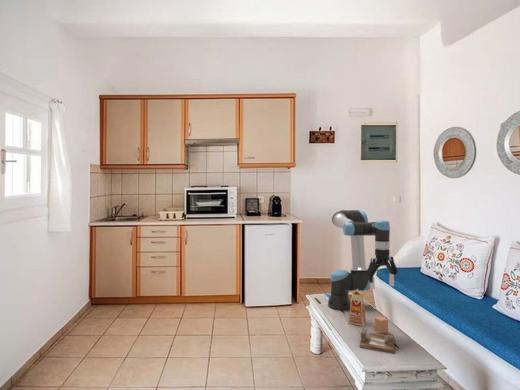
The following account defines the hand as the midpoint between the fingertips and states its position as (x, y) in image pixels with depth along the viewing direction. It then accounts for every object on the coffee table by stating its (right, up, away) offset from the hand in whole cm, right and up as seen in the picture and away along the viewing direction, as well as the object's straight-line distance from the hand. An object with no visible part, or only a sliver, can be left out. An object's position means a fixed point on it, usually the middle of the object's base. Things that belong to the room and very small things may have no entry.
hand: (382, 287), depth 186 cm
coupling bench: (-7, -25, -13) cm, 29 cm away
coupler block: (0, -25, +1) cm, 25 cm away
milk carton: (-10, -25, +14) cm, 30 cm away
